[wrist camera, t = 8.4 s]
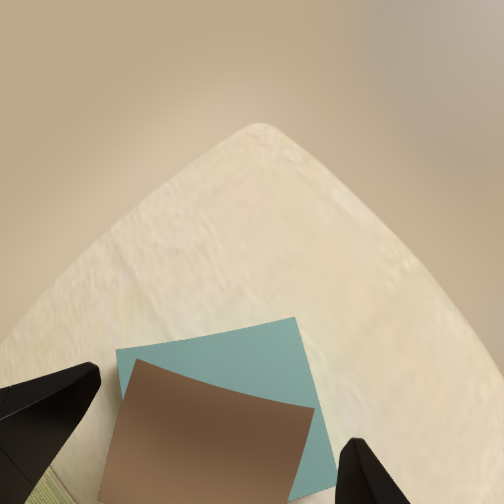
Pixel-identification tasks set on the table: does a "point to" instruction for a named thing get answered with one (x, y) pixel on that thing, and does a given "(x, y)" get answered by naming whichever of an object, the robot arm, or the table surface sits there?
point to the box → (50, 491)
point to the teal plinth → (252, 381)
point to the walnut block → (201, 444)
